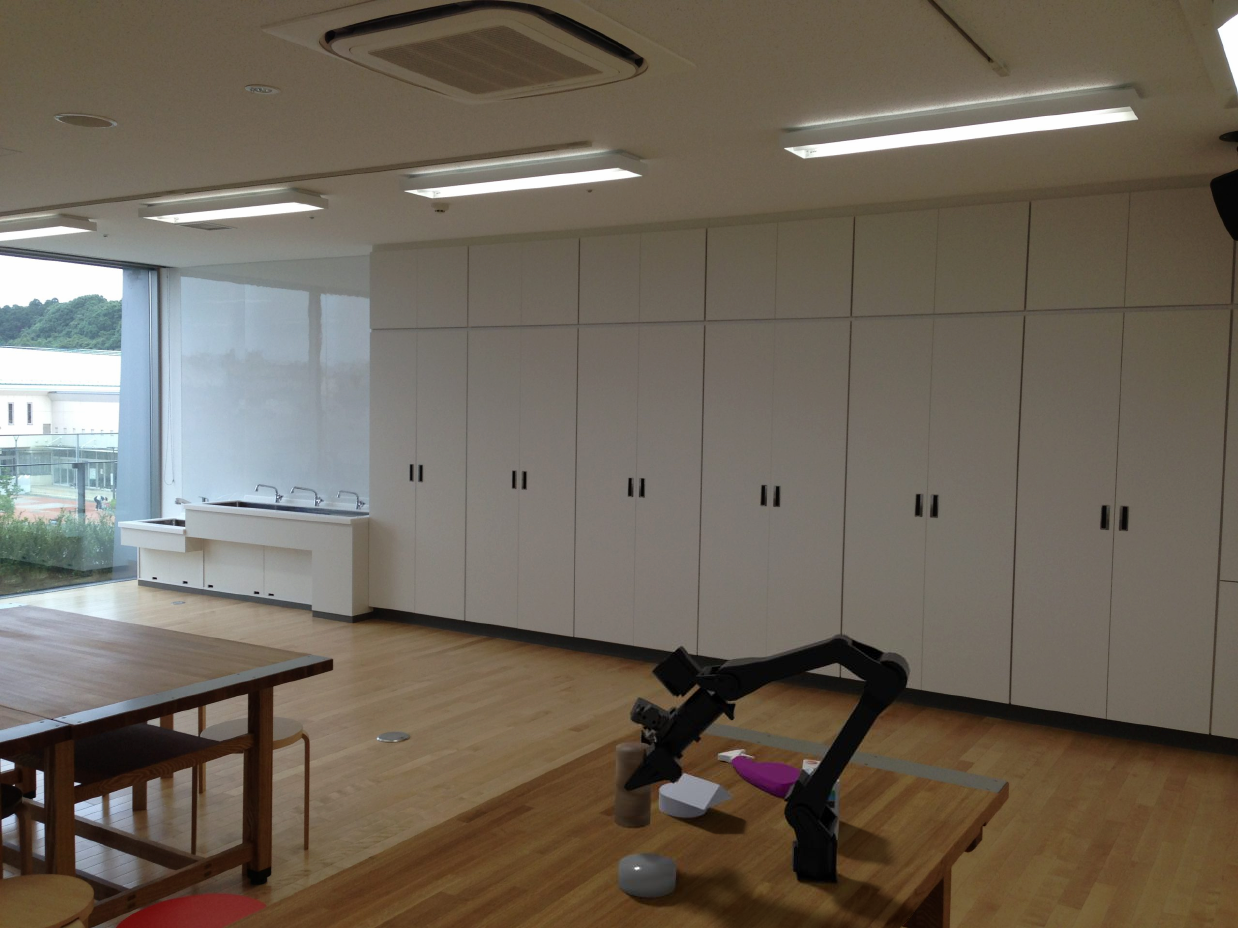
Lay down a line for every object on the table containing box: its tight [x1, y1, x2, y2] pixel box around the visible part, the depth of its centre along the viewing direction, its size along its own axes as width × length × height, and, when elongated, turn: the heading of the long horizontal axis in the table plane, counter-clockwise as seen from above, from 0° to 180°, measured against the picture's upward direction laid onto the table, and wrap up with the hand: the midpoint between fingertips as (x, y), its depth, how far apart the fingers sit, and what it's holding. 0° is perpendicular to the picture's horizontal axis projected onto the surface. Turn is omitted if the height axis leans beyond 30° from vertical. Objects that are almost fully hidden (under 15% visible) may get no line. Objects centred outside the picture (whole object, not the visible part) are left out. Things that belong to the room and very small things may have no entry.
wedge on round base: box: [658, 772, 735, 819], centre depth 191 cm, size 9×7×13 cm
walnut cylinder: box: [614, 741, 652, 829], centre depth 172 cm, size 6×6×12 cm
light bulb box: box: [801, 759, 841, 842], centre depth 185 cm, size 11×7×11 cm, turn 168°
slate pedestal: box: [617, 852, 677, 899], centre depth 161 cm, size 9×9×3 cm
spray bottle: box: [717, 748, 802, 798], centre depth 212 cm, size 3×11×24 cm
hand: (625, 781), depth 172 cm, fingers closed on walnut cylinder, 6 cm apart
